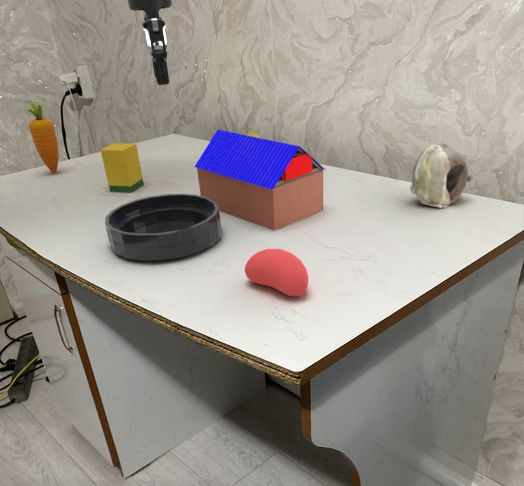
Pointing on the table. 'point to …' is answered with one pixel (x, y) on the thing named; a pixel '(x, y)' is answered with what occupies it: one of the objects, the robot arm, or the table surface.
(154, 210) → the bowl
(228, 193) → the house
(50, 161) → the carrot
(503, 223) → the table surface
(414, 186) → the sea shell
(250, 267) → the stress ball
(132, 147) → the sponge
